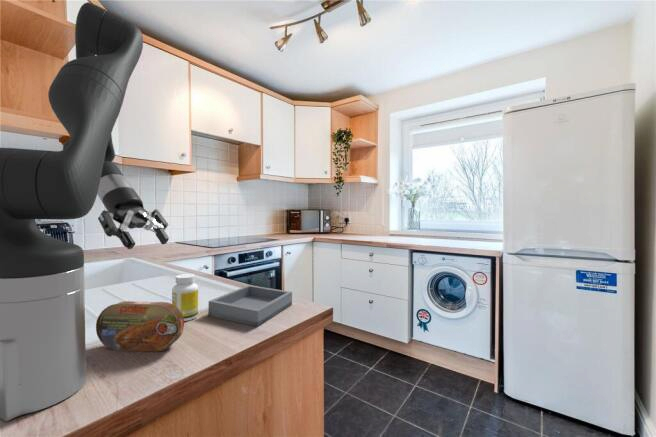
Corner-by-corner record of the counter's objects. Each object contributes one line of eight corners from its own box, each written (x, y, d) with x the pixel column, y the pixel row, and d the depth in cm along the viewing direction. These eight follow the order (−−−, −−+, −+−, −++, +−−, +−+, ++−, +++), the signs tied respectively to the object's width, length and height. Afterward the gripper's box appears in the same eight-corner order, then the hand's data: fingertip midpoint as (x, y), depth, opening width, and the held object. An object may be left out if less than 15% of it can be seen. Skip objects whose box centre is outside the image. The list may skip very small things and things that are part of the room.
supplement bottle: (202, 313, 68) (202, 273, 68) (189, 323, 63) (189, 279, 62) (181, 312, 69) (181, 272, 68) (166, 321, 63) (166, 278, 63)
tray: (257, 327, 62) (258, 311, 62) (208, 315, 67) (208, 301, 67) (291, 304, 76) (292, 292, 76) (248, 297, 81) (248, 284, 81)
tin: (94, 349, 51) (93, 303, 50) (108, 341, 54) (108, 297, 54) (177, 353, 51) (177, 306, 50) (186, 344, 54) (186, 300, 53)
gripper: (93, 184, 65) (126, 237, 62) (152, 187, 78) (182, 231, 75) (80, 206, 68) (111, 259, 64) (139, 205, 81) (168, 249, 77)
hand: (150, 244), depth 69 cm, fingers open, 8 cm apart
